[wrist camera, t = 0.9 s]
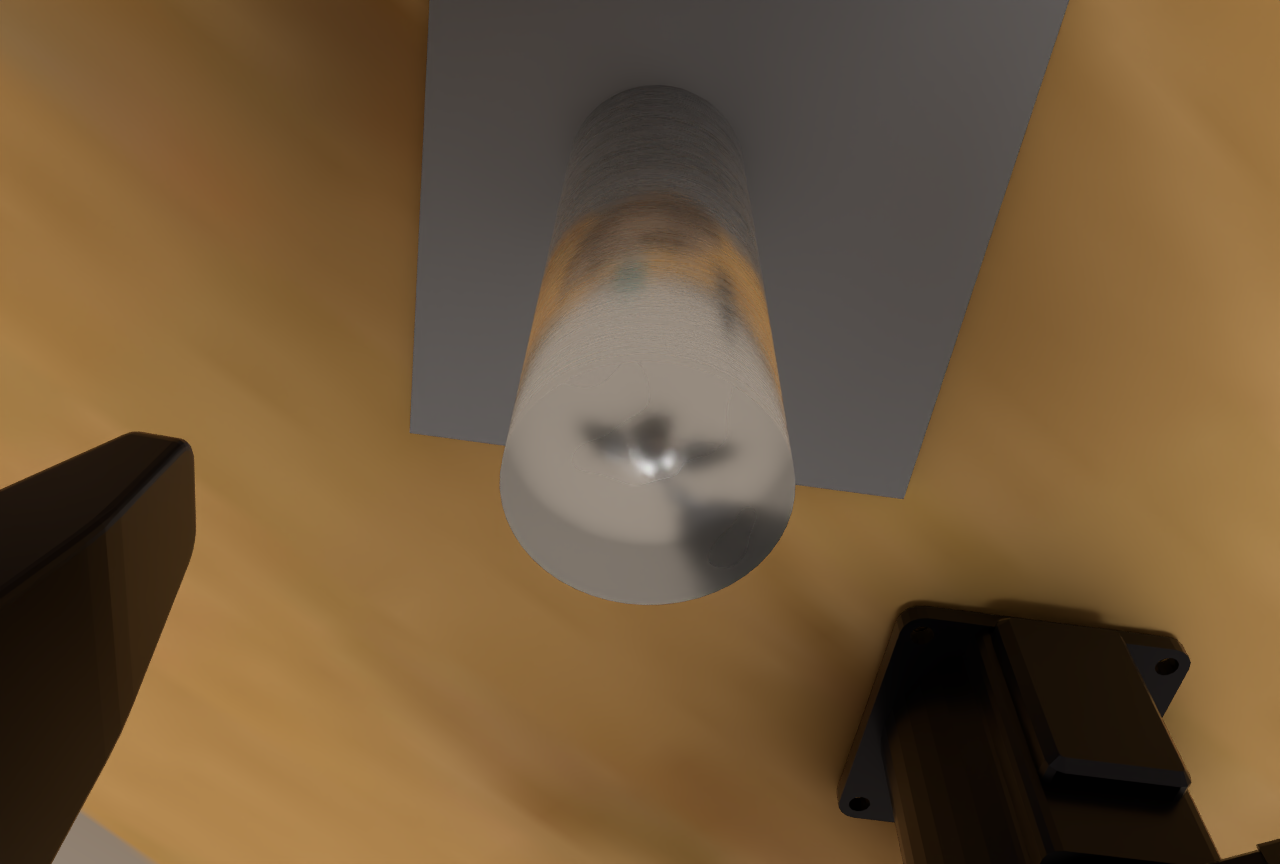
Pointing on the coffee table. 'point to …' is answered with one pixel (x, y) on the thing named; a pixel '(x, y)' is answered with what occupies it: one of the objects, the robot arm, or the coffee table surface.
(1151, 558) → the coffee table surface
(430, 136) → the mat
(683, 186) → the pin
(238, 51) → the coffee table surface
